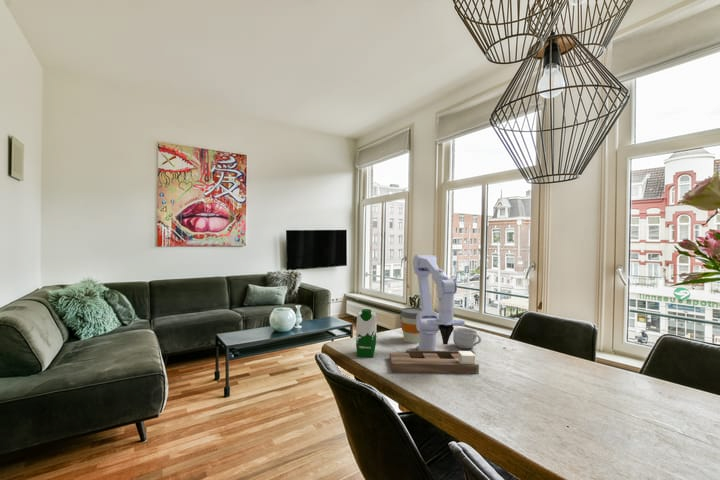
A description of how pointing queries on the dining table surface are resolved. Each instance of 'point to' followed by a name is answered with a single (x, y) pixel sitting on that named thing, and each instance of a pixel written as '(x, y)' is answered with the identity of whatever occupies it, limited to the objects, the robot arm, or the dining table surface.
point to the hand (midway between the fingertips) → (445, 343)
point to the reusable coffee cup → (410, 324)
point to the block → (466, 357)
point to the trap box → (430, 362)
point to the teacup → (465, 337)
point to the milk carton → (366, 333)
